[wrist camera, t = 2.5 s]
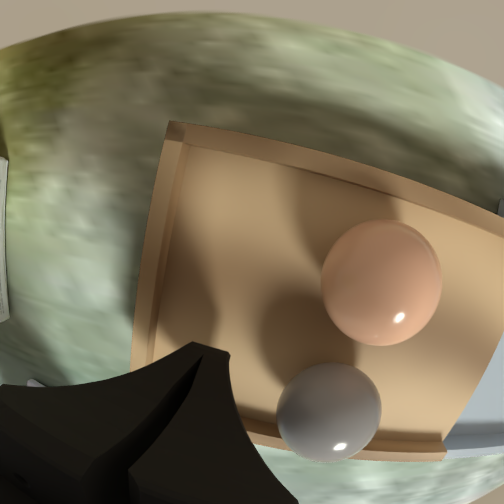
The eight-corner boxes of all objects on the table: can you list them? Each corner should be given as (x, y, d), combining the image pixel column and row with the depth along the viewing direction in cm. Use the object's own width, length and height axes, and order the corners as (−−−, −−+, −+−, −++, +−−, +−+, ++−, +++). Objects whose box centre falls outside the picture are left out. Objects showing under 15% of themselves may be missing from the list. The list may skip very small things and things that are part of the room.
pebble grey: (349, 423, 11) (362, 486, 8) (267, 409, 11) (259, 473, 8) (384, 353, 10) (413, 410, 7) (293, 334, 10) (294, 393, 7)
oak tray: (422, 421, 13) (441, 460, 10) (156, 366, 14) (128, 404, 11) (503, 228, 11) (546, 240, 8) (198, 137, 12) (169, 120, 9)
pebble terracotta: (395, 326, 10) (431, 377, 7) (303, 304, 10) (308, 355, 7) (427, 231, 9) (482, 249, 6) (331, 201, 9) (354, 206, 6)
